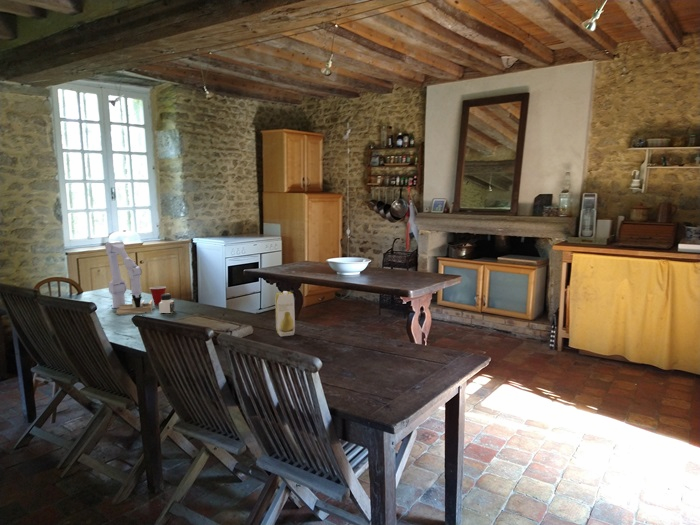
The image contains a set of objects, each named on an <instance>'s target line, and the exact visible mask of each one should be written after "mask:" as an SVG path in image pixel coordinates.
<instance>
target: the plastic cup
mask: <svg viewBox="0 0 700 525" xmlns="http://www.w3.org/2000/svg"><path fill="white" fill-rule="evenodd" d="M166 289H167V286H164V285H163V286H162V285H161V286H153V287H152V286H151V287H149V290H150V293H151V296H152V301H153V305H154V306H159V303H160V302H162V301H161V295H162V294H166Z"/></svg>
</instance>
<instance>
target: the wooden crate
mask: <svg viewBox="0 0 700 525" xmlns="http://www.w3.org/2000/svg"><path fill="white" fill-rule="evenodd" d="M119 307H120V308H115V309H116V315H117V314H118V315H131V314H132V315H133V314H142V313H143V314H146V313H145V312H147V313H152V311H153V308H154V301H153V299H150V300H149V302H144V307H137V308H133V306H132V303H130V304H129V303H125V305H119ZM118 315H117V316H118Z"/></svg>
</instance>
